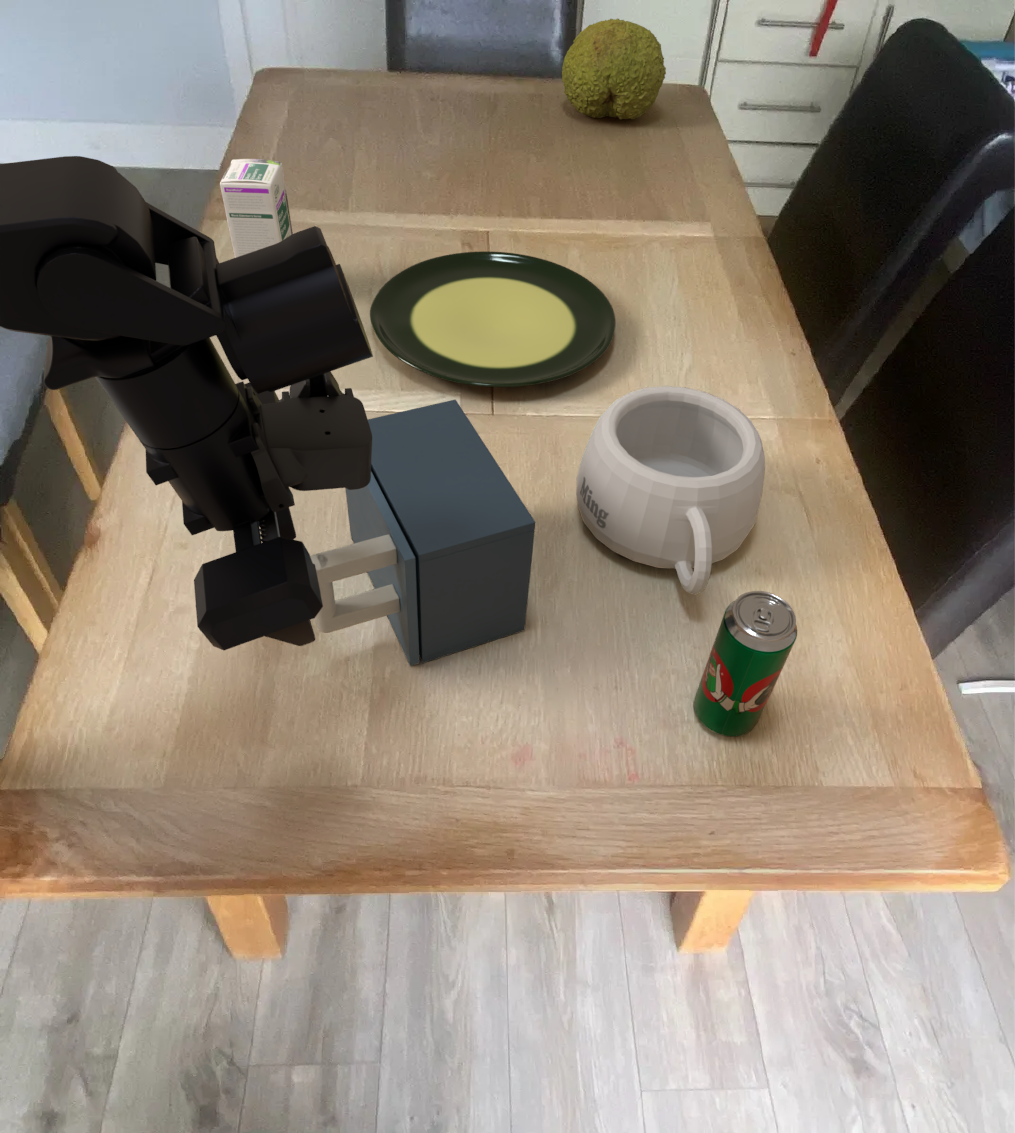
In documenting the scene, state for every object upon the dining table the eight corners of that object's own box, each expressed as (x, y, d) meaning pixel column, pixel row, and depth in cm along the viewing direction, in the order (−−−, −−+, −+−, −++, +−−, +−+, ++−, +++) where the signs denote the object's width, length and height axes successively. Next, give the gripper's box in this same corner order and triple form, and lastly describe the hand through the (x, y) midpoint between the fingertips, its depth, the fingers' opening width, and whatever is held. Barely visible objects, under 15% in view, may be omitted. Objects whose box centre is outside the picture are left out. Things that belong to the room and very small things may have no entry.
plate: (662, 361, 102) (666, 342, 100) (444, 433, 92) (444, 413, 90) (531, 249, 118) (533, 231, 116) (332, 300, 107) (330, 281, 106)
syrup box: (291, 304, 106) (274, 182, 96) (241, 302, 106) (218, 179, 95) (300, 279, 110) (284, 159, 100) (251, 277, 110) (230, 156, 99)
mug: (563, 457, 90) (573, 373, 83) (727, 455, 91) (751, 373, 84) (592, 625, 75) (607, 542, 68) (786, 620, 77) (822, 538, 70)
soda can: (761, 697, 71) (806, 598, 63) (752, 749, 68) (797, 652, 59) (698, 678, 72) (733, 578, 64) (686, 728, 69) (721, 630, 60)
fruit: (580, 139, 142) (554, 33, 136) (572, 138, 155) (548, 41, 149) (681, 104, 141) (659, -5, 134) (664, 106, 154) (643, 7, 147)
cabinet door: (332, 691, 70) (315, 585, 61) (280, 554, 79) (259, 445, 70) (419, 663, 72) (415, 557, 63) (359, 533, 81) (348, 425, 72)
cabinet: (422, 663, 72) (418, 555, 63) (361, 533, 81) (350, 422, 72) (524, 630, 75) (535, 522, 66) (454, 508, 84) (455, 398, 75)
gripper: (364, 475, 42) (447, 656, 54) (308, 271, 54) (386, 456, 66) (133, 557, 41) (269, 721, 53) (129, 332, 53) (240, 508, 65)
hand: (298, 587), depth 59 cm, fingers open, 9 cm apart
